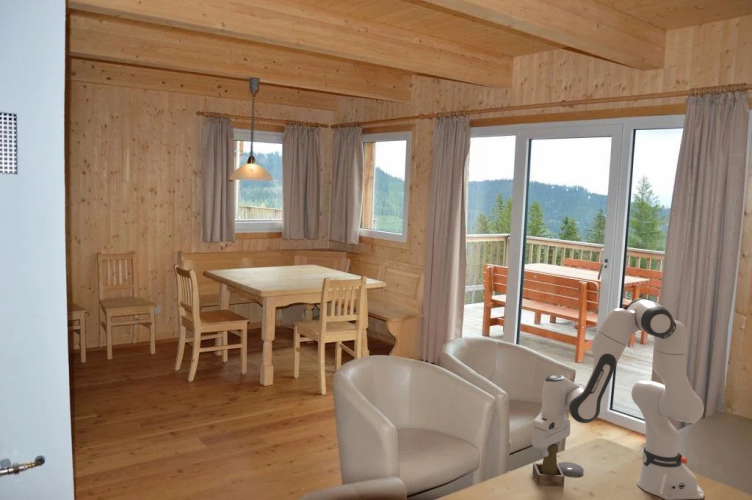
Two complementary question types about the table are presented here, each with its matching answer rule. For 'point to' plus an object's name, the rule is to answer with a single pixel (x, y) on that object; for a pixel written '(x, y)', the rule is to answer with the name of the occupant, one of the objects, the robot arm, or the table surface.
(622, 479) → the table surface
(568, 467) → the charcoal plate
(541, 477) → the walnut holder
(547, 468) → the cork
